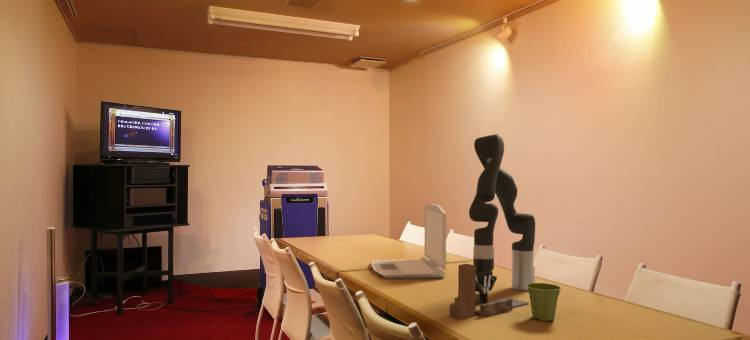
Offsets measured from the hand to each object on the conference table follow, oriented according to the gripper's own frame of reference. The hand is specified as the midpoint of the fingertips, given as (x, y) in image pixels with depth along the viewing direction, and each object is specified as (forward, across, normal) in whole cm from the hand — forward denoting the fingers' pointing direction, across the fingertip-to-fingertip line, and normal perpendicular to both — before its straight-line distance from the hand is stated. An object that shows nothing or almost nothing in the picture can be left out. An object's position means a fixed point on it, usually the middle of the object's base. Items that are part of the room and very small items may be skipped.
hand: (483, 303), depth 185 cm
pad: (+2, -15, 0) cm, 15 cm away
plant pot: (+3, -8, +20) cm, 22 cm away
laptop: (+3, -22, -72) cm, 75 cm away
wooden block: (+2, +14, +2) cm, 14 cm away
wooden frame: (+2, 0, 0) cm, 2 cm away
